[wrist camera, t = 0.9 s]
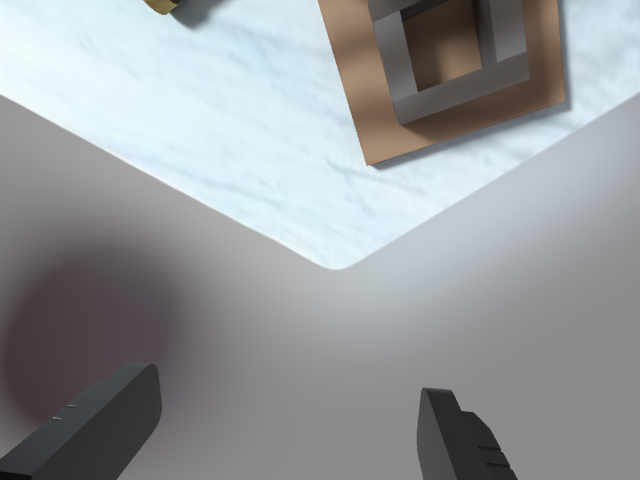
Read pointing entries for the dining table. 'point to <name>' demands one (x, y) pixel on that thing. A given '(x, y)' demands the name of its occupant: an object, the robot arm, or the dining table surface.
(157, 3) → the gavel
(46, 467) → the robot arm
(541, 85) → the wooden peg insertion stand
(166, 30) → the dining table surface
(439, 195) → the dining table surface
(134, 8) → the dining table surface
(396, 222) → the dining table surface
